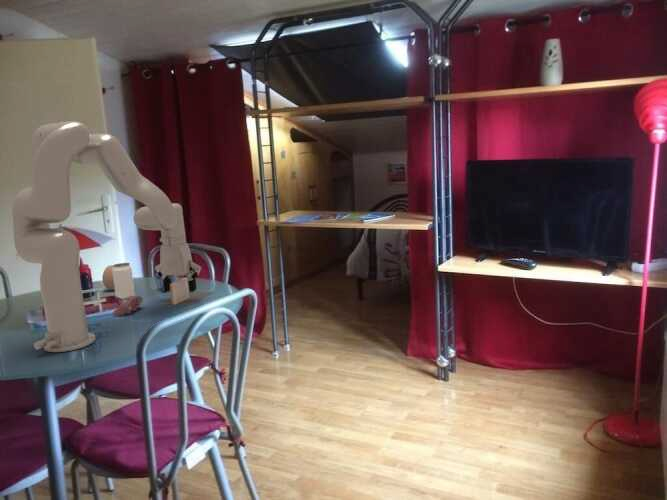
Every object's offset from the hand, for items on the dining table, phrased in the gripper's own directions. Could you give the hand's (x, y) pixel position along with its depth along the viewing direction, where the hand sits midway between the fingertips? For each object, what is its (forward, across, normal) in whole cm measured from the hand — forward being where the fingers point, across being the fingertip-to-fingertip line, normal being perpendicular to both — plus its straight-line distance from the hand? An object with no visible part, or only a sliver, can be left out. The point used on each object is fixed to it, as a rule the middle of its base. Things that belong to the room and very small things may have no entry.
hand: (180, 290), depth 175 cm
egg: (+4, -38, +12) cm, 40 cm away
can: (+4, -26, +4) cm, 27 cm away
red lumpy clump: (+4, -11, -14) cm, 18 cm away
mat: (+4, 0, +4) cm, 5 cm away
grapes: (+4, -16, +14) cm, 21 cm away
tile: (+4, 0, 0) cm, 4 cm away
